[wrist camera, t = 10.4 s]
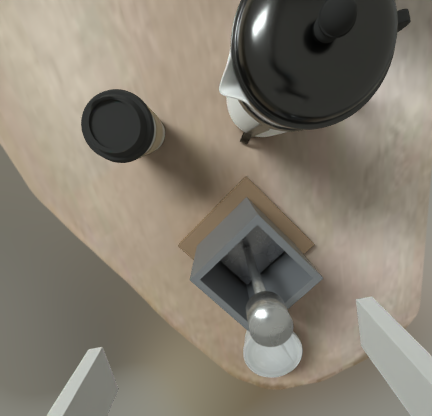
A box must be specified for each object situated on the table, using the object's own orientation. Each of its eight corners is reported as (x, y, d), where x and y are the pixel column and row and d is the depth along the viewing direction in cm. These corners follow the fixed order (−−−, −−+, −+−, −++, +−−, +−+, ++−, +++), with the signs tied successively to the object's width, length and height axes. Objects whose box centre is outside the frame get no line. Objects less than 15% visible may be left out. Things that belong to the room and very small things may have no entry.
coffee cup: (178, 149, 46) (160, 149, 32) (131, 166, 47) (92, 173, 32) (159, 98, 44) (131, 72, 30) (111, 116, 45) (60, 100, 30)
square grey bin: (245, 176, 47) (258, 187, 33) (311, 241, 50) (349, 277, 36) (179, 243, 50) (164, 280, 36) (244, 301, 53) (254, 357, 38)
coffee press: (281, 164, 47) (390, 187, 17) (202, 121, 45) (174, 67, 16) (334, 70, 43) (581, -96, 14) (250, 21, 42) (330, -284, 12)
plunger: (247, 211, 45) (273, 264, 24) (284, 247, 47) (339, 327, 26) (209, 249, 47) (203, 328, 26) (246, 282, 48) (269, 384, 27)
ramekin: (304, 322, 54) (313, 341, 49) (279, 364, 56) (285, 386, 51) (255, 302, 53) (260, 319, 48) (232, 345, 55) (234, 366, 50)
